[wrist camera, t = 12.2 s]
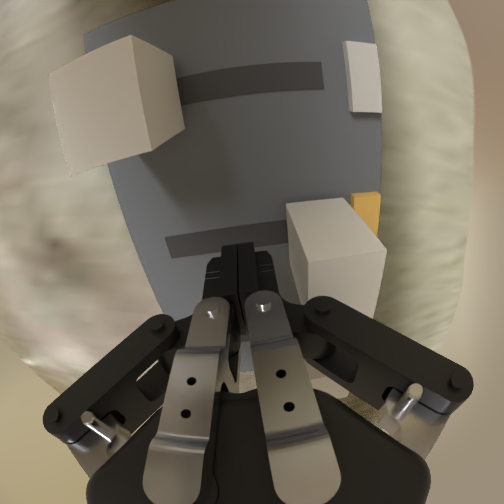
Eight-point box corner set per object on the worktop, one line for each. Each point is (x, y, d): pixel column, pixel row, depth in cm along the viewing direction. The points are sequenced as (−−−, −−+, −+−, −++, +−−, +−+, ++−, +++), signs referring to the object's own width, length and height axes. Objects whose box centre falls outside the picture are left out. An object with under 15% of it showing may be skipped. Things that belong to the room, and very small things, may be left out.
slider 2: (291, 316, 18) (304, 380, 13) (335, 309, 17) (356, 370, 13) (293, 348, 19) (303, 405, 15) (331, 341, 19) (347, 396, 15)
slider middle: (285, 203, 13) (308, 261, 9) (343, 197, 13) (387, 250, 9) (289, 262, 15) (307, 330, 11) (340, 255, 15) (372, 318, 11)
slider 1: (111, 75, 9) (47, 74, 5) (172, 55, 9) (131, 34, 5) (125, 144, 11) (70, 176, 7) (185, 128, 11) (151, 150, 7)
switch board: (100, 39, 9) (78, 33, 7) (351, 3, 9) (369, -9, 7) (197, 357, 23) (194, 379, 21) (347, 337, 23) (354, 358, 21)
